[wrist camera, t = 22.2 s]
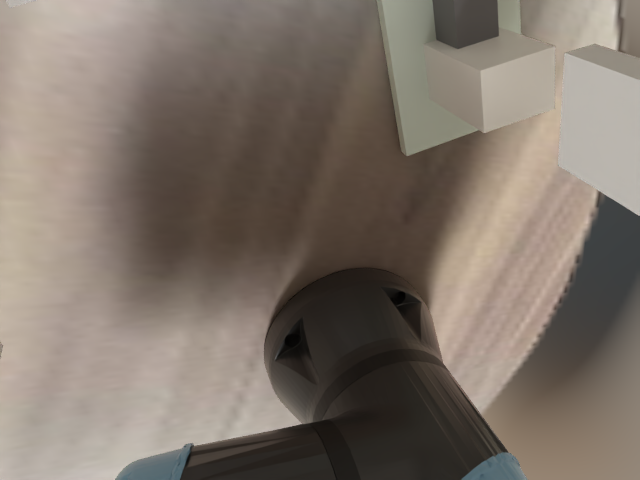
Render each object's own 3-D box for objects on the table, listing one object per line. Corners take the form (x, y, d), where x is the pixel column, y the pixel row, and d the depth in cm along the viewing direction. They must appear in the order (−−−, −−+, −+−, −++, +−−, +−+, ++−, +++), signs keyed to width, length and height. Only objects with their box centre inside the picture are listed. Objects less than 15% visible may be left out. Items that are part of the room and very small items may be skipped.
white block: (491, 78, 44) (554, 108, 37) (429, 99, 43) (484, 133, 37) (479, -134, 36) (557, -140, 30) (405, -114, 36) (468, -115, 29)
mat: (516, 110, 47) (524, 114, 46) (401, 151, 45) (406, 156, 45) (504, -177, 36) (513, -179, 36) (354, -135, 35) (360, -135, 34)
